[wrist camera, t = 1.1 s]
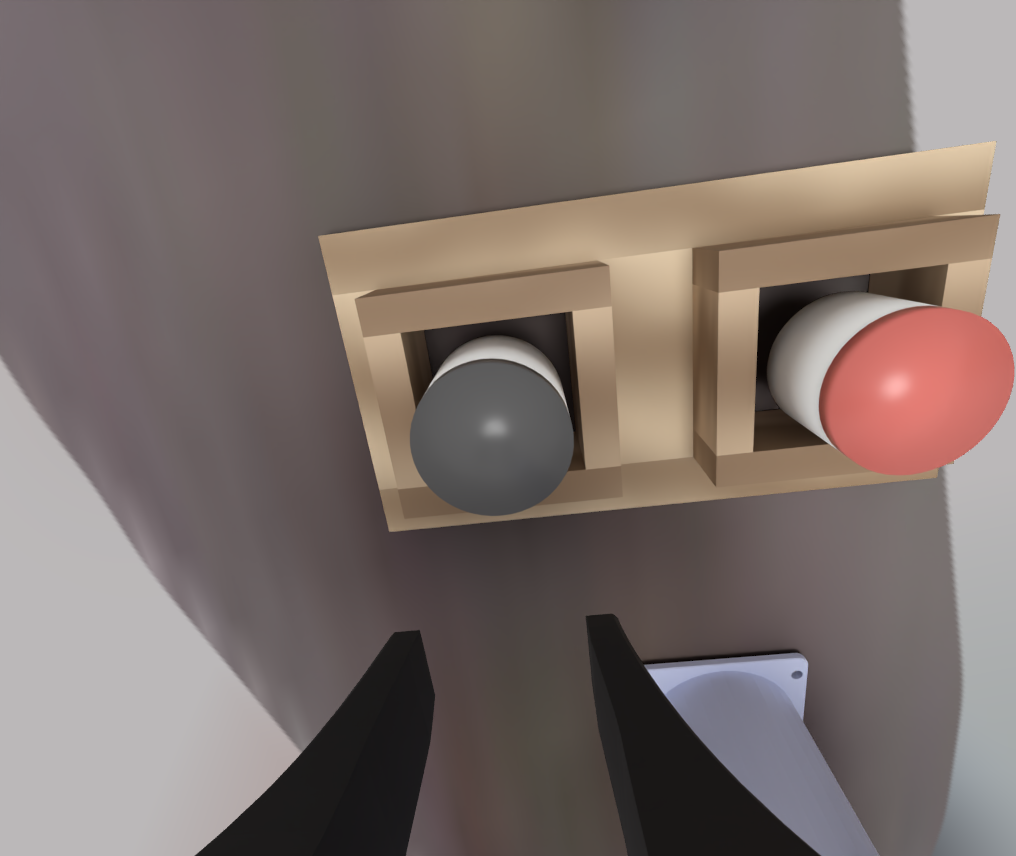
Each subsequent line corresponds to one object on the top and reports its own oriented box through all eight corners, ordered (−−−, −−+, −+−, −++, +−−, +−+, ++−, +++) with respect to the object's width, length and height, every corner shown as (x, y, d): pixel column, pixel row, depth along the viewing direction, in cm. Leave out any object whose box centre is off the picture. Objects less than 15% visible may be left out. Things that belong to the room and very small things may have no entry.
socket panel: (919, 466, 22) (992, 510, 18) (394, 519, 23) (372, 569, 20) (970, 145, 17) (1078, 126, 14) (328, 235, 19) (286, 237, 16)
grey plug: (569, 453, 18) (580, 507, 15) (444, 466, 19) (426, 523, 15) (557, 327, 17) (566, 354, 13) (421, 343, 17) (394, 374, 13)
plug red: (899, 417, 18) (995, 466, 14) (763, 432, 18) (824, 483, 14) (918, 282, 16) (1032, 297, 12) (769, 300, 16) (838, 321, 13)
